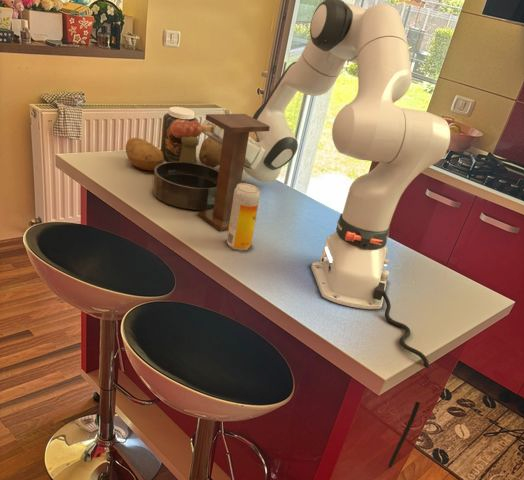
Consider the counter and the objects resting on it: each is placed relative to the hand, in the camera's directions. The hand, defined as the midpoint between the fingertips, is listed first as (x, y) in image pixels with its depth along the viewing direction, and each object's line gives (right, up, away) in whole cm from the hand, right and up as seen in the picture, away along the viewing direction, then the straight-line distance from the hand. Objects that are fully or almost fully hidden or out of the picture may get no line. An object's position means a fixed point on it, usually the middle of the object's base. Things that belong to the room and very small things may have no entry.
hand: (210, 126), depth 147 cm
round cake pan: (-7, -17, +8) cm, 20 cm away
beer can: (+8, -35, -11) cm, 37 cm away
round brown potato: (-2, -1, +31) cm, 31 cm away
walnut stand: (+4, -26, -1) cm, 26 cm away
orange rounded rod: (-4, -3, -1) cm, 5 cm away
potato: (-22, -5, +20) cm, 30 cm away
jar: (-14, +3, +33) cm, 36 cm away
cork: (-10, -4, +25) cm, 27 cm away
